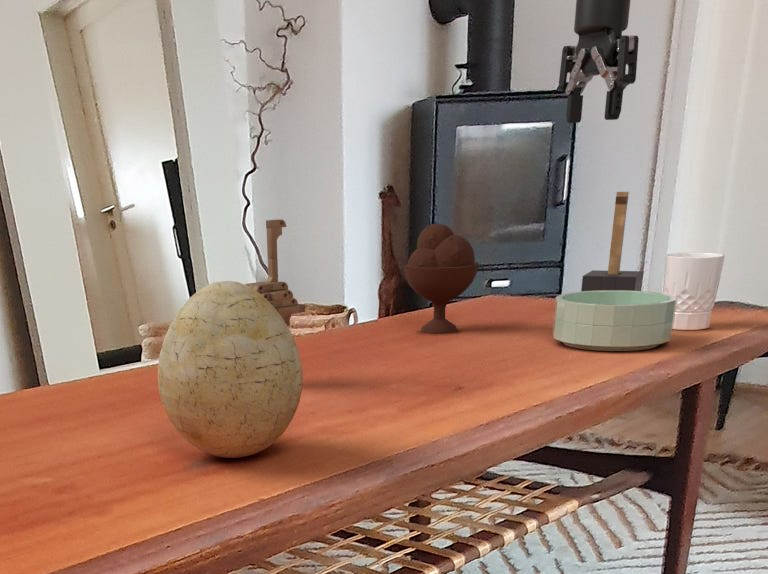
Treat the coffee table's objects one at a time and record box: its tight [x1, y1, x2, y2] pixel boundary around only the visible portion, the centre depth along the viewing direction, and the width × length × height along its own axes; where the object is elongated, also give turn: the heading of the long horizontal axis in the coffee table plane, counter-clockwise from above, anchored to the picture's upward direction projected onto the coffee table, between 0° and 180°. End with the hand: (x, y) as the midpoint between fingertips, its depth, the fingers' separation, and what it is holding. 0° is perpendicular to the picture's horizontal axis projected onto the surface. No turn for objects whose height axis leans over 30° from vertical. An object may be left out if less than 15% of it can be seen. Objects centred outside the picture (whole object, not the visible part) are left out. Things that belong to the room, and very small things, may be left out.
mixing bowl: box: [551, 290, 678, 352], centre depth 132 cm, size 16×16×6 cm
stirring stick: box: [607, 191, 630, 274], centre depth 155 cm, size 2×2×18 cm
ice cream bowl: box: [403, 222, 480, 334], centre depth 144 cm, size 11×11×15 cm
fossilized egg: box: [156, 280, 304, 459], centre depth 85 cm, size 13×13×15 cm
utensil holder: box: [580, 270, 644, 291], centre depth 158 cm, size 8×8×6 cm
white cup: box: [662, 252, 726, 331], centre depth 141 cm, size 8×8×10 cm
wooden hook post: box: [244, 218, 306, 327], centre depth 109 cm, size 17×7×18 cm, turn 132°
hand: (592, 121), depth 146 cm, fingers open, 8 cm apart
